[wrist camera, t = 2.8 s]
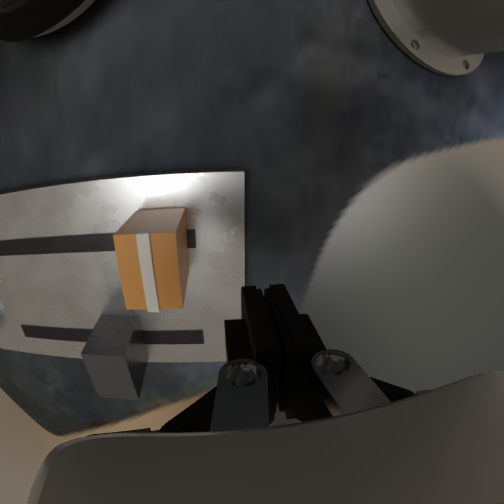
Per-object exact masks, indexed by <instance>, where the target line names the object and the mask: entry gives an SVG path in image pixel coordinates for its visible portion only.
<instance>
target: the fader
mask: <svg viewBox="0 0 504 504" xmlns="http://www.w3.org/2000/svg"><path fill="white" fill-rule="evenodd" d="M113 239H114V245H115V252H116V258H117V264H118V269H119V275H120V280H121V285H122V290H123V295H124V300H125V305H126V309H147V310H148V312H160V309H183V306H184V300H185V294H186V288H187V282H188V276H189V259H188V245H187V231H186V215H185V208H174V209H154V210H137V211H135V212H134V213H133V214H132V215H131V216H130V217H129V219H128V220H127V221H126V222H125V223H124V224H123V225H122V226H121V227H120V228H119V229H118V230H117V231H116V233H115V234H114V235H113Z"/></svg>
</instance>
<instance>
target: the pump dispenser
mask: <svg viewBox="0 0 504 504" xmlns="http://www.w3.org/2000/svg"><path fill="white" fill-rule="evenodd" d="M94 1H95V0H0V40H2V41H7V42H17V41H23V40H27V39H30V38H34V37H39V36H42V35H45V34H48V33H51V32H53V31H55V30H58V29H60V28H61V27H63V26H65V25H67V24H68V23H70V22H71V21H73V20H74V19H76V18H77V17H78V16H79V15H81V14H82V13H83V12H84V11H85V10H86V9H87V8H88V7H89V6H90V5H91V4H92V3H93V2H94Z"/></svg>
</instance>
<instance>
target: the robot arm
mask: <svg viewBox="0 0 504 504" xmlns="http://www.w3.org/2000/svg"><path fill="white" fill-rule="evenodd" d="M368 2H369V4H370V6H371V8H372V11H373V13H374V14H375V16H376V18H377V19H378V21H379V23H380V24H381V26H382V27H383V29H384V30H385V31H386V33H387V34H388V35H389V37H390V38H391V39H392V40H393V41H394V42H395V43H396V44H397V46H398V47H399V48H400V49H401V50H402V51H403V52H404V53H406V54H407V55H408V56H409V57H410V58H412V59H413V60H414V61H415V62H417V63H418V64H420V65H422V66H423V67H425V68H426V69H429V70H431V71H433V72H435V73H438V74H442V75H446V76H458V75H465V74H468V73H470V72H472V71H474V70H475V69H476V68H477V67H478V66H479V65H480V63H481V62H482V60H483V58H484V54H485V53H494V52H504V0H368ZM224 328H225V345H226V357H227V363H226V364H224V365H223V366H222V367H221V369H220V371H219V375H218V382H217V386H216V387H215V388H213V389H212V390H211V391H209V392H208V393H207V394H205V395H204V396H203V397H201V398H200V399H199V400H197V401H196V402H195V403H193V404H192V405H190V406H189V407H188V408H186V409H185V410H184V411H182V412H181V413H179V414H178V415H177V416H175V417H174V418H172V419H171V420H169V421H168V422H167V423H166V424H165V425H163V426H162V427H161V429H160V430H155V431H151V430H150V428H146V429H139V430H131V431H122V432H112V433H102V434H92V435H88V436H86V437H82V438H77V439H74V440H70V441H67V442H65V443H62V444H60V445H58V446H57V447H55V448H54V449H53V450H52V451H51V452H50V453H49V454H48V455H47V457H46V458H45V459H44V461H43V463H42V464H41V466H40V468H39V471H38V473H37V475H36V477H35V480H34V483H33V485H32V488H31V491H30V495H29V498H28V502H27V504H504V372H502V371H497V372H486V373H480V374H477V375H473V376H470V377H466V378H464V379H461V380H458V381H455V382H452V383H449V384H446V385H444V386H441V387H438V388H435V389H431V390H423V391H417V393H416V394H414V393H413V392H412V391H409V390H407V389H404V388H401V387H398V386H395V385H392V384H389V383H386V382H383V381H380V380H377V379H375V378H372V377H369V376H368V375H367V374H366V373H365V371H364V370H363V369H362V368H361V367H360V366H359V365H358V363H357V362H356V361H355V360H354V359H353V358H352V357H351V356H350V355H349V354H347V353H345V352H343V351H340V350H333V349H328V350H326V348H325V346H324V344H323V342H322V340H321V339H320V337H319V335H318V333H317V331H316V329H315V327H314V325H313V323H312V322H311V320H310V318H309V316H308V315H307V314H299V313H298V311H297V309H296V307H295V305H294V303H293V301H292V299H291V297H290V295H289V293H288V291H287V289H286V287H285V285H284V284H277V285H270V286H269V289H265V290H264V297H263V294H262V291H261V289H256V286H242V287H241V319H231V320H224ZM277 404H278V408H279V411H280V412H282V411H285V414H286V418H287V419H293V418H296V419H298V420H300V421H301V422H300V423H294V424H287V425H280V426H273V427H269V425H270V424H271V423H272V422H273V420H274V417H275V412H276V406H277Z"/></svg>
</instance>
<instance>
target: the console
mask: <svg viewBox="0 0 504 504" xmlns="http://www.w3.org/2000/svg"><path fill="white" fill-rule="evenodd" d="M244 175H245V172H244V170H243V169H242V168H211V169H186V170H168V171H153V172H140V173H128V174H118V175H108V176H99V177H90V178H82V179H74V180H66V181H59V182H52V183H46V184H40V185H33V186H27V187H22V188H16V189H11V190H6V191H0V279H1V282H0V348H3V349H9V350H15V351H22V352H28V353H36V354H43V355H52V356H61V357H71V358H82V359H83V361H84V363H85V366H86V368H87V371H88V373H89V375H90V378H91V380H92V382H93V385H94V387H95V389H96V391H97V393H98V396H99V397H107V398H118V399H132V400H139V398H140V393H141V388H142V384H143V379H144V375H145V370H146V366H147V362H214V361H227V357H226V345H225V328H224V320H231V319H241V287H242V286H245V233H244ZM174 208H185V215H186V231H187V245H188V259H189V276H188V282H187V288H186V294H185V300H184V306H183V309H160V312H148V310H147V309H126V305H125V300H124V295H123V290H122V285H121V280H120V275H119V269H118V264H117V258H116V252H115V245H114V239H113V235H114V234H115V233H116V231H117V230H118V229H119V228H120V227H121V226H122V225H123V224H124V223H125V222H126V221H127V220H128V219H129V217H130V216H131V215H132V214H133V213H134V212H135V211H137V210H154V209H174Z"/></svg>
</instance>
